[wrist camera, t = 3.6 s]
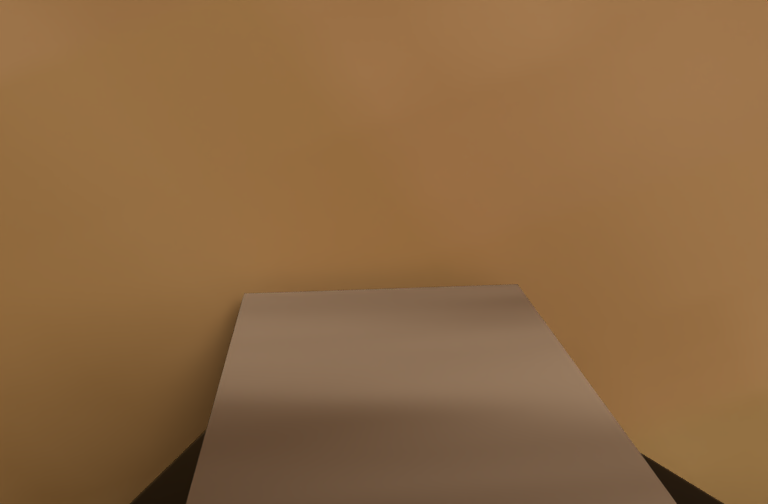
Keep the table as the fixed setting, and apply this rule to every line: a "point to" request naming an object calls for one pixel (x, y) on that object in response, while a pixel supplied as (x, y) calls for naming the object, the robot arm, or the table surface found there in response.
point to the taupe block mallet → (410, 406)
